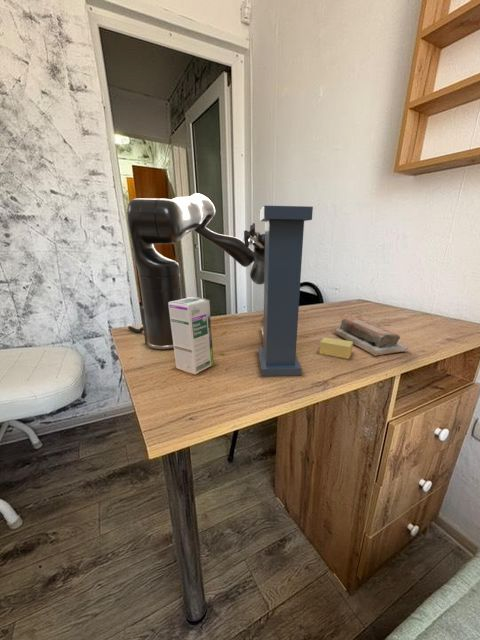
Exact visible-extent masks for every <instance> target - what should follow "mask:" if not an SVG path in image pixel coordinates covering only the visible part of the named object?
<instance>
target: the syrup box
mask: <svg viewBox="0 0 480 640" xmlns="http://www.w3.org/2000/svg"><path fill="white" fill-rule="evenodd" d="M168 305H169V313H170V322H171V330H172V338H173V346H174V348H173V353H174V361H175V367H176V369H177V370H179V371H182V372H186V373H188V374H190V375H194V376H196V375H198V374H199V373H201V372H202V371H205V370H206V369H208V368H210V367H213V366H214V365H215V363H214V362H215V361H214V350H213V349H214V348H213V335H212V319H211V305H210V299H207V298H203V297H199V296H197V297H196V296H188V297H185V298H182V299H180V300H176V301H171V302H168Z"/></svg>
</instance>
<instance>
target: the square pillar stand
mask: <svg viewBox="0 0 480 640" xmlns="http://www.w3.org/2000/svg"><path fill="white" fill-rule="evenodd" d="M313 211H314V206H304V205H303V206H302V205H301V206H300V205H297V206H296V205H264V206H262V208H261V209H260V210H259V222H264V234H265V267H264V284H263V317H264V322H263V326H262V327H263V337H262V346H259V347H257V348H258V349H257V350H258V352H257V353H258V360H259V367H260V375H261V377H285V376H286V377H288V376H289V377H290V376H291V377H292V376H296V377H297V376H298V377H299V376H302V367H301V365H300V362H299V361H298V359H297V344H298V343H297V341H298V327H299V326H298V323H299V312H300V311H299V310H300V309H299V308H300V296H301V295H300V294H301V290H300V289H301V277H302V262H303V246H304V230H305V229H304V228H305V222H308V221H312V220H313Z"/></svg>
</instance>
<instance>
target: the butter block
mask: <svg viewBox="0 0 480 640" xmlns="http://www.w3.org/2000/svg"><path fill="white" fill-rule="evenodd" d="M353 348H354V344H353V342H352V341H347V340H346V339H338V338H333V337H327V336H324V337H323V338H322V339H321V340H320V342H319V352H318V354H321V355H324V356H325V355H326V356H331V357H336V358H341V359H345V360H346V359H347V360H349V359H350V357H351V355H352V353H353Z"/></svg>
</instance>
